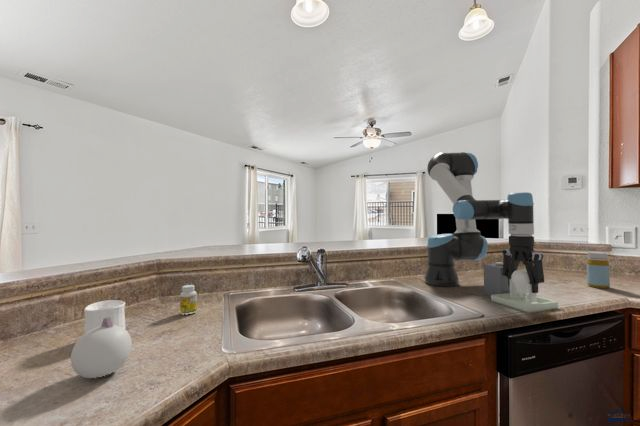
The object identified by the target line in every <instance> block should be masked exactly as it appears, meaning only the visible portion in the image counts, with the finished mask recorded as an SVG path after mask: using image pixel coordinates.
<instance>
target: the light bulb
mask: <svg viewBox="0 0 640 426" xmlns="http://www.w3.org/2000/svg"><path fill="white" fill-rule="evenodd" d="M511 279H512V282H513V283H514V285H515V286H516V288H517V292H518V298H520V299H522V300H525V299H527V298H528V295H527V294H528V283H529V282H530V279H529V276H528V273H527V271H526V269H524V268H523V269H522V268H519V269H517V270H516V271H514V272H513V273H512V275H511Z"/></svg>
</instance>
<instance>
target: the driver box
mask: <svg viewBox="0 0 640 426" xmlns="http://www.w3.org/2000/svg"><path fill="white" fill-rule="evenodd" d="M482 265H483V267H482V268H483V292H484V293H483V294H485V295H489V296H491V295H496V294H505V293H510V287H509V286H508V278H507V277H506V276H503V262H502V261H501V262H500V261H498V262H497V261H496V262H494V263H484V264H482Z"/></svg>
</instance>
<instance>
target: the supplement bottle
mask: <svg viewBox="0 0 640 426" xmlns="http://www.w3.org/2000/svg"><path fill="white" fill-rule="evenodd" d="M181 290H182V292H181V293H180V295H179V304H180V311H181V312H182V313H189V312H194V311H196V310H197V311H198V293H197V291H196V290H195V285H194V284H186V285H182V287H181ZM181 312H180V313H181Z"/></svg>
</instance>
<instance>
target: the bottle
mask: <svg viewBox="0 0 640 426" xmlns="http://www.w3.org/2000/svg"><path fill="white" fill-rule="evenodd" d="M586 277H587V279H586V280H587V286H589V287H592V288H597V289H609V288H610V287H611V285H610V284H611V283H610V282H611V281H610V280H611V279H610V264H609V260H608V252H603V251H587V260H586Z"/></svg>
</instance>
